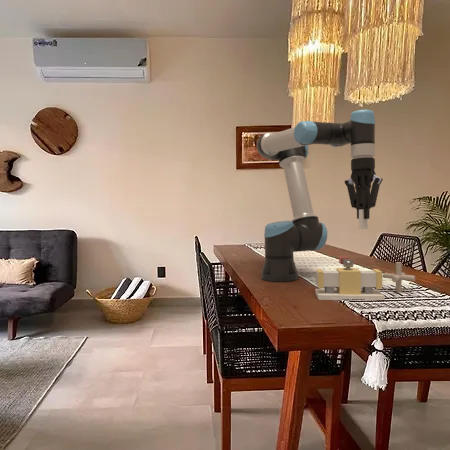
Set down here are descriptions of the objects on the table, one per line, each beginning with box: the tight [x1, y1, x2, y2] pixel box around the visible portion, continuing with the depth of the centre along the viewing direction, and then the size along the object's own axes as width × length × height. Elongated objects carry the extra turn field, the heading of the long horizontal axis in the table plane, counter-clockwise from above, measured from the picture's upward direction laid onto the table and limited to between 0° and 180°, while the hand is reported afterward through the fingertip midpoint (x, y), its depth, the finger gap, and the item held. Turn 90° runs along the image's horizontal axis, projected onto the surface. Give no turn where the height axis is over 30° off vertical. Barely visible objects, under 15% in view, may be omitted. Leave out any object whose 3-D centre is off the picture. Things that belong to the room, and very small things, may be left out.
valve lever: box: [338, 255, 354, 268], centre depth 126 cm, size 12×3×2 cm, turn 172°
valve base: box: [315, 267, 385, 301], centre depth 123 cm, size 9×20×10 cm, turn 82°
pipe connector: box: [382, 261, 416, 293], centre depth 128 cm, size 10×10×10 cm
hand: (363, 228), depth 126 cm, fingers closed
